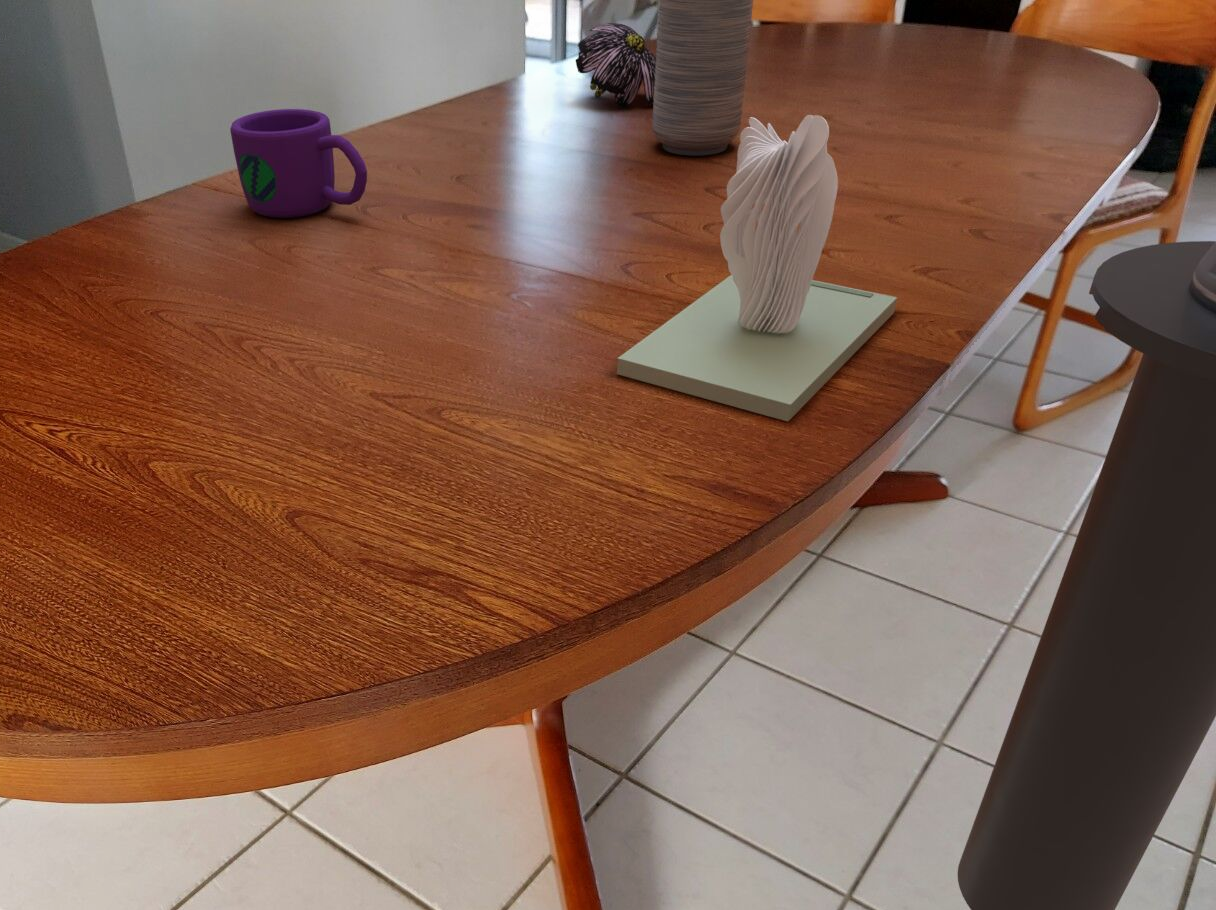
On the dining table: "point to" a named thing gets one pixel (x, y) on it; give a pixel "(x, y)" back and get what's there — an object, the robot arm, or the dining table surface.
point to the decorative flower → (618, 63)
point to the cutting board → (757, 349)
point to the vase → (700, 74)
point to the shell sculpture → (778, 220)
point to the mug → (292, 162)
